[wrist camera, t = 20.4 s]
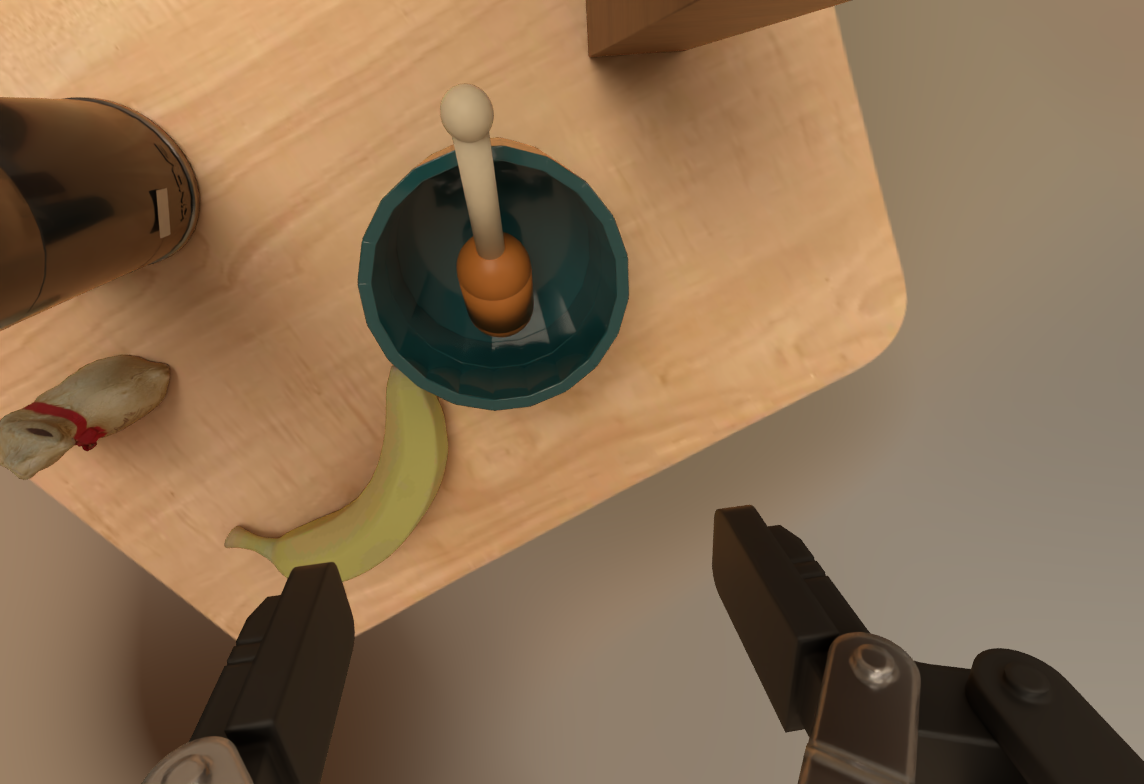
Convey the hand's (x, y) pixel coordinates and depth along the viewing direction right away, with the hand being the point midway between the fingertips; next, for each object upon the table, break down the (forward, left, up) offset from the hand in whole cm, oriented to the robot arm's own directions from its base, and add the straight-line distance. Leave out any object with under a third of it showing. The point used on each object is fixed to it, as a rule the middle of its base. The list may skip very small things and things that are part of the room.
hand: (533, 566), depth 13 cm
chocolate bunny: (-27, -7, -31) cm, 42 cm away
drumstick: (-1, +1, -22) cm, 22 cm away
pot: (0, 0, -31) cm, 31 cm away
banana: (-14, -16, -31) cm, 38 cm away
